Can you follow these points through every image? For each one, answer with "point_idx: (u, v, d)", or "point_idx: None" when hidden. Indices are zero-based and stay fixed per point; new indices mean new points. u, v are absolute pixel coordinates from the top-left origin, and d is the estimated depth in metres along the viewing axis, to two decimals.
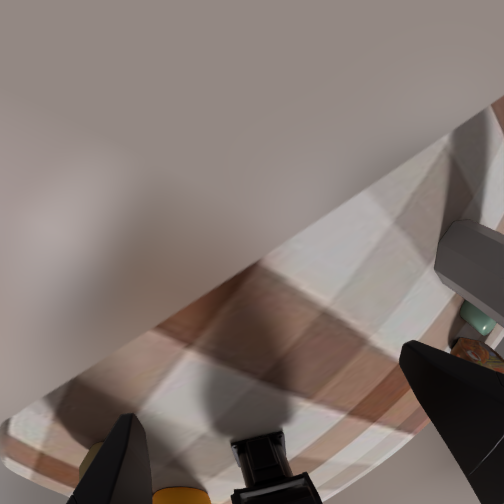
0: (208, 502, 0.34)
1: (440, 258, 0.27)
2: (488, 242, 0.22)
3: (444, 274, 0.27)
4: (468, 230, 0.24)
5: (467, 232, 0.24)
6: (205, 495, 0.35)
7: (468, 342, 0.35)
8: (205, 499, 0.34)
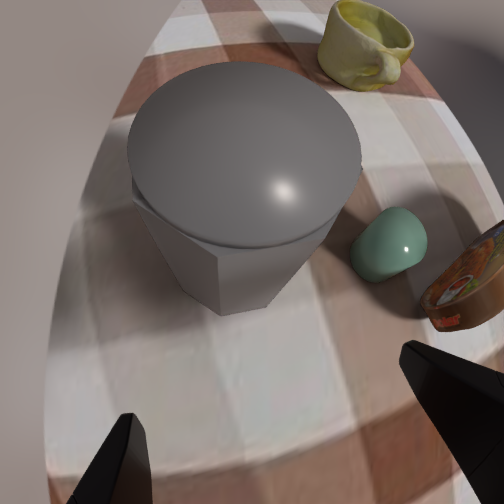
0: None
1: (201, 301, 0.19)
2: None
3: (218, 311, 0.18)
4: None
5: None
6: None
7: (449, 274, 0.22)
8: None
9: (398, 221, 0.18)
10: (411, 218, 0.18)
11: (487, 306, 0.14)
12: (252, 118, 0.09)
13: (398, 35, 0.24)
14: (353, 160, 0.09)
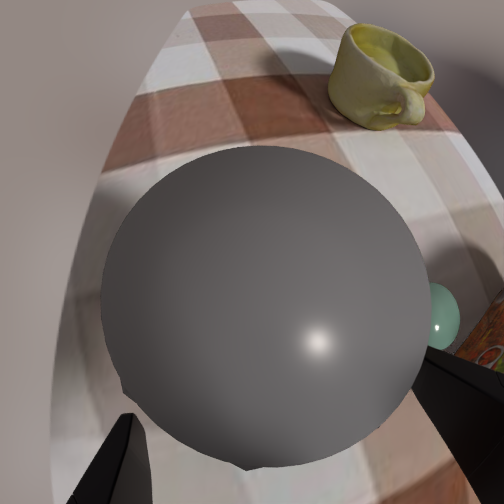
0: None
1: None
2: None
3: None
4: None
5: None
6: None
7: (475, 337, 0.18)
8: None
9: None
10: (444, 294, 0.15)
11: None
12: (285, 263, 0.06)
13: (415, 63, 0.23)
14: (422, 317, 0.06)
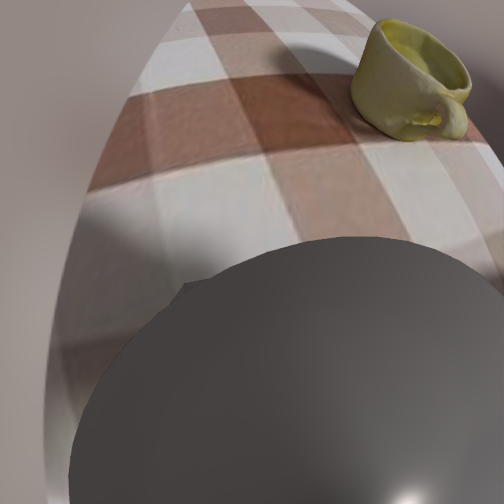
0: None
1: None
2: None
3: None
4: None
5: None
6: None
7: None
8: None
9: None
10: None
11: None
12: (393, 486, 0.02)
13: (448, 67, 0.19)
14: None
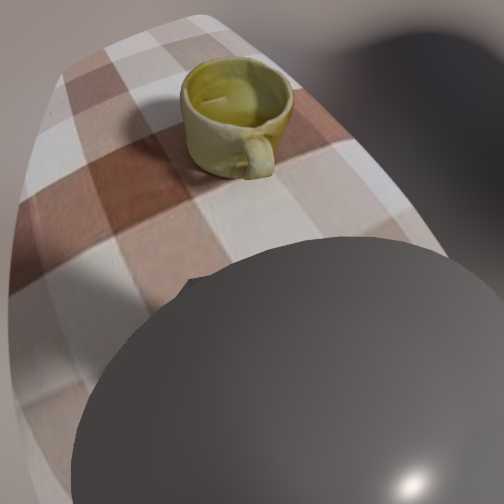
0: None
1: None
2: None
3: None
4: None
5: None
6: None
7: None
8: None
9: None
10: None
11: None
12: (386, 480, 0.03)
13: (274, 87, 0.24)
14: None
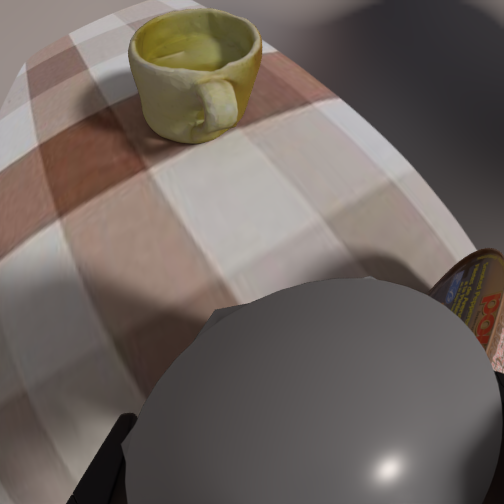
0: None
1: None
2: None
3: None
4: None
5: None
6: None
7: None
8: None
9: None
10: None
11: None
12: (367, 463, 0.04)
13: (240, 36, 0.19)
14: (487, 474, 0.03)
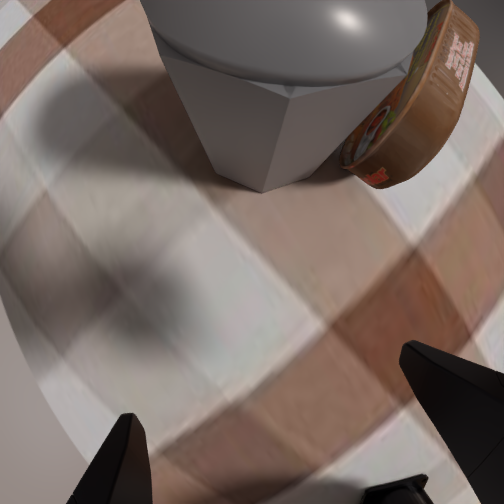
0: None
1: (238, 180, 0.17)
2: None
3: (260, 187, 0.16)
4: None
5: None
6: None
7: None
8: None
9: None
10: None
11: (417, 147, 0.11)
12: None
13: None
14: None
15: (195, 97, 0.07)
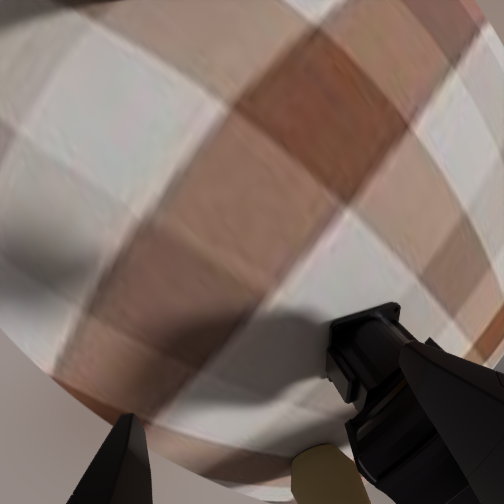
0: None
1: None
2: None
3: None
4: None
5: None
6: None
7: None
8: None
9: None
10: None
11: None
12: None
13: None
14: None
15: None
